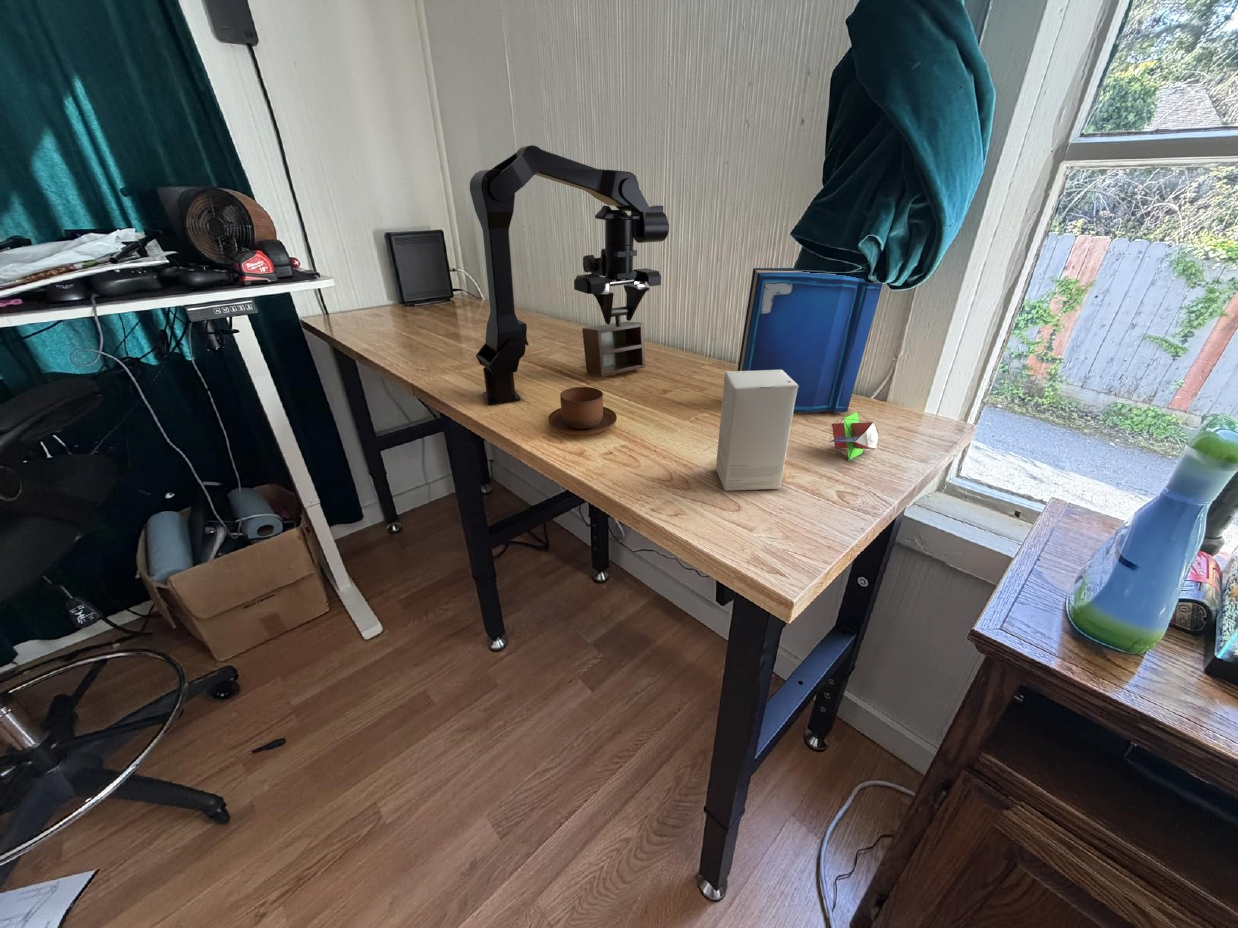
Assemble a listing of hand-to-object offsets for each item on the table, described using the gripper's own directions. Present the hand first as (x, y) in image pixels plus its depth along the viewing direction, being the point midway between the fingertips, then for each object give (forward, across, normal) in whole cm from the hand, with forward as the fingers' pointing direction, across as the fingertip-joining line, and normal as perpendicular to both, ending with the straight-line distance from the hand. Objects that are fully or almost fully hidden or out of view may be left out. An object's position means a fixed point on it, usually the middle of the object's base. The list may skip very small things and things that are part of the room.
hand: (618, 322), depth 107 cm
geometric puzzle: (+11, -8, +54) cm, 55 cm away
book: (+11, -16, +36) cm, 41 cm away
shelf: (+5, 0, -5) cm, 7 cm away
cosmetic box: (+10, +12, +50) cm, 52 cm away
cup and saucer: (+11, +22, +21) cm, 32 cm away
